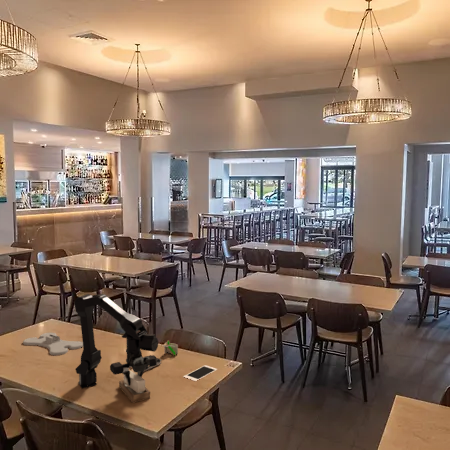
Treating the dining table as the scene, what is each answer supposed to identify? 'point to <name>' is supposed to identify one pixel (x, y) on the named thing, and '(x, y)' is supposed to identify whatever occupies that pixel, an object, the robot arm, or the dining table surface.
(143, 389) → the white rectangular block
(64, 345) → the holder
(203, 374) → the cell phone
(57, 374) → the dining table surface
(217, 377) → the dining table surface
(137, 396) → the cradle
